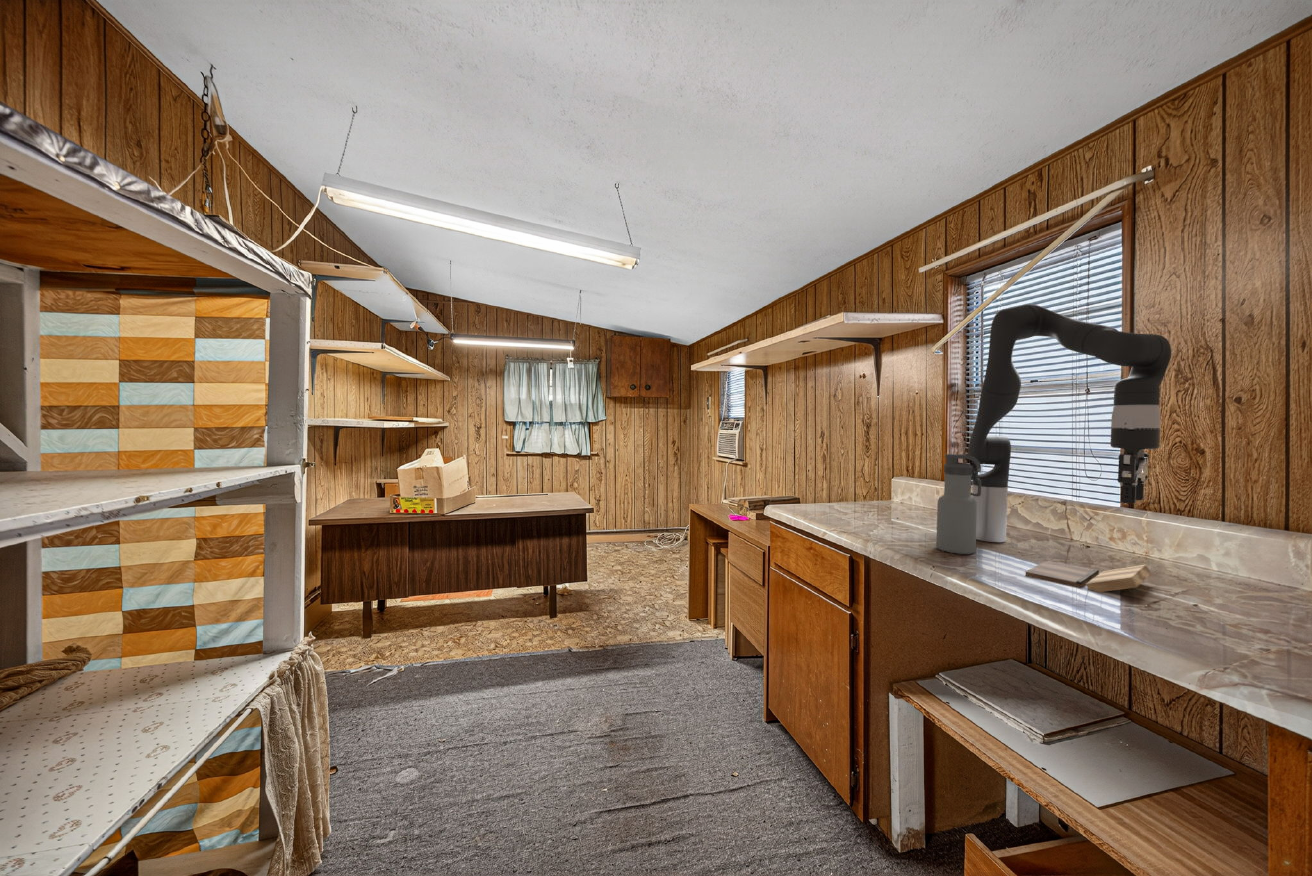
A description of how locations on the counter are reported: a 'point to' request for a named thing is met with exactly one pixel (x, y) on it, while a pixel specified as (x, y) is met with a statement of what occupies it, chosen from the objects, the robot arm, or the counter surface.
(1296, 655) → the counter surface
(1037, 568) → the walnut board
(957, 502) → the water bottle
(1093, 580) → the oak plank
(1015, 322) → the robot arm
